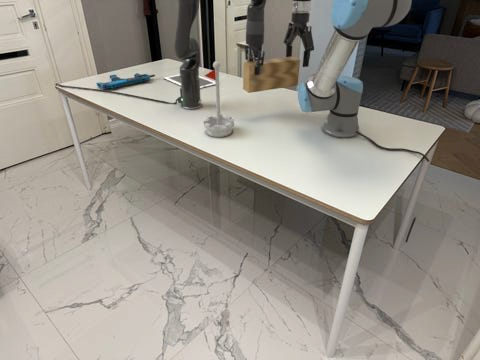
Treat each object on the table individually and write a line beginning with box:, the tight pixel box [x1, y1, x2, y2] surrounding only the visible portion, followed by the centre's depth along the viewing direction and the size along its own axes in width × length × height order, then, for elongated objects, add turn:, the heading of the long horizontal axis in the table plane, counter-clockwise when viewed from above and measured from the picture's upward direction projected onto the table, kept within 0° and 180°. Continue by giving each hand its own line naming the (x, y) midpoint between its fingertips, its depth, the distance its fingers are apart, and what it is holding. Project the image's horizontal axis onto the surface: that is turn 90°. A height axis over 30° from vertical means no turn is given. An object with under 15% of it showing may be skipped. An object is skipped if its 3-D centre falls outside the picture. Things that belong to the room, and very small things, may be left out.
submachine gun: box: [95, 72, 156, 90], centre depth 209 cm, size 34×4×25 cm
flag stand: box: [203, 60, 235, 138], centre depth 141 cm, size 13×13×30 cm
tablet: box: [163, 73, 216, 89], centre depth 211 cm, size 32×20×1 cm, turn 41°
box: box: [242, 56, 301, 94], centre depth 153 cm, size 26×6×12 cm, turn 115°
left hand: (253, 72), depth 149 cm, fingers closed on box, 6 cm apart
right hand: (296, 63), depth 155 cm, fingers open, 13 cm apart
